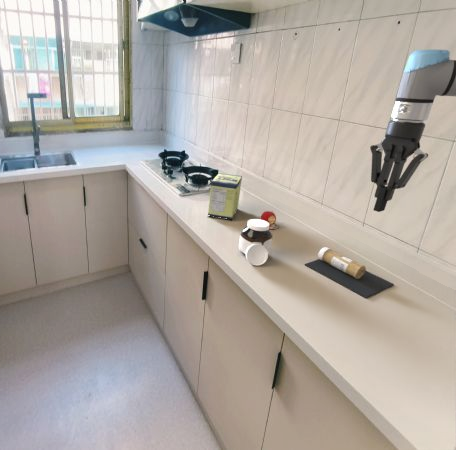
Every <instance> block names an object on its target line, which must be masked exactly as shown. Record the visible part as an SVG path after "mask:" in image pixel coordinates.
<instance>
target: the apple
mask: <svg viewBox="0 0 456 450" xmlns="http://www.w3.org/2000/svg"><path fill="white" fill-rule="evenodd" d="M260 219H261V220H264V221H267V222H268V223H269V230H276V229H278V227H279V226H278V224H277V223H276V221H277V216H276V213H275V212H273V210H271V211H270V210H266V211H264V212H263V213H261V216H260Z"/></svg>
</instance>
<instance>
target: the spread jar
mask: <svg viewBox="0 0 456 450" xmlns="http://www.w3.org/2000/svg"><path fill="white" fill-rule="evenodd" d="M272 243H273V234H272V232H271V229H269V223H268V222H267V221H264V220H261V218H251V219H248V220H247V224H246V227H244V228H243V229H242V231H241V232H240V235H239V240H238V250H239V251H240V253H241V254H242V255H243V256H244V257H245V259H246V261H247V262H248V263H250V264H251V265H252V266H257V267H258V266H262V265H264V264H265V263H266V262H267V261H268V258H269V253H270V251H271V248H272Z"/></svg>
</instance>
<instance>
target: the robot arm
mask: <svg viewBox="0 0 456 450" xmlns="http://www.w3.org/2000/svg"><path fill="white" fill-rule="evenodd" d="M450 55H451V52H450V50H448V49H418V50H414V51H413V52H411V53H410V54H409V57H408V59H407V62H406V65H405V68H404V70H403V71H402V77H401V79H400V83H399V87H398V91H397V94H396V97H395V101H394V104H393V107H392V111H391V114H390V118H391V120H389V121H388V123H387V128H386V130H385V134H384V138H382V140H381V142H380V143H377V144H372V145H370V147H369V149H370V152H371V171H370V182H371V183H374V184H375V185H376V189H375V192H374V198H376V200H375V203H374V206H373V211H374V212H378V213H381V212H383V211H385V209H386V206H387V205H388V202H389V201H391V200H392V199H393V196H394V194H395V191H396V190H399V189H403V188H405V187H406V186H407V184H408V183H409V181H410V180H411V178H412V176H413V175H414V174H415V172H416V170H417V169H418V167H419V166H420V164H421V163H422V162H423V161H425V160H426V159H427V158H428V157H429V154H428V153H427V152H424V151H423V150H421V144H420V141H421V139H422V137H423V133H424V131H425V128H426V123H425V122H426V121H428V120H429V115H430V113H431V110H432V107H433V103H434V101H435V99H436V97H437V96H439V97H456V59H450ZM383 152H384V157H383ZM411 156H412V160H410V162H409V163H408V165H407V167H406V168H405V170H404V166H405V164H406V163H407V161H408V158H409V157H411ZM382 159H383V161H382ZM382 162H383V164H382ZM403 170H404V171H403Z"/></svg>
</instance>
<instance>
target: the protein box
mask: <svg viewBox="0 0 456 450" xmlns="http://www.w3.org/2000/svg"><path fill="white" fill-rule="evenodd" d="M242 180H243V176H242V175H235V174H228V173H222V172H221V173H220V172H219V173H218V174H217V175H216V176H214V178H213V179H212V181H210V189H209V191H210V192H209V201H208V211H207V213H208V214H207V216H208V215H210V216H214V217H221V218H227V219H232V218H233V219H234V217H235V215H236V213H237V211H238V209H237V208H239V202H240V193H241V187H242ZM236 210H237V211H236ZM235 212H236V213H235ZM234 214H235V215H234ZM233 216H234V217H233ZM214 217H213V218H214ZM233 219H232V220H233Z"/></svg>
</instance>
